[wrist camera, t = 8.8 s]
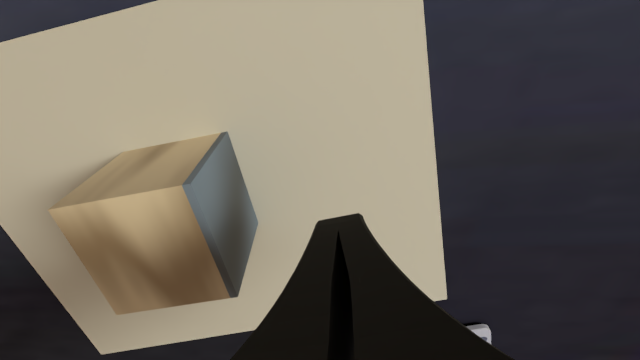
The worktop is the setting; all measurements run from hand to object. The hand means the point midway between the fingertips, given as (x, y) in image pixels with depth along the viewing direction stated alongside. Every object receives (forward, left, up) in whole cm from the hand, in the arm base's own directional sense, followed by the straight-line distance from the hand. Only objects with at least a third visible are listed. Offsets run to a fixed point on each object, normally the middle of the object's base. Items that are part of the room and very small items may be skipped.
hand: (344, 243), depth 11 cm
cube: (0, +4, -4) cm, 6 cm away
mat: (-1, +6, -7) cm, 10 cm away
